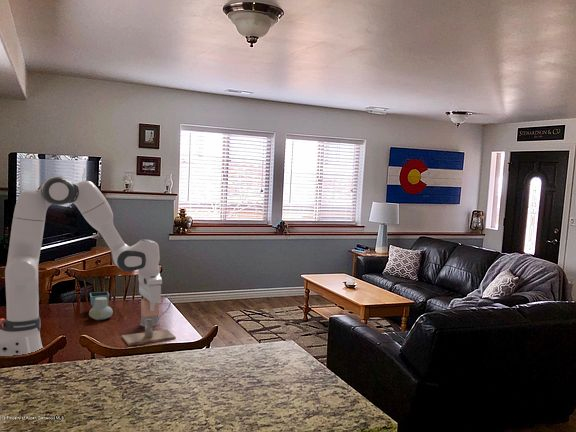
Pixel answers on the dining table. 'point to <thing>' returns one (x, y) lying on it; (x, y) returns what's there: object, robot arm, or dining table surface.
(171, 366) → the dining table surface
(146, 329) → the post stand
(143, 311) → the peach block
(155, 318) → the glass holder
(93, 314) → the air freshener
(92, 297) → the flower pot
